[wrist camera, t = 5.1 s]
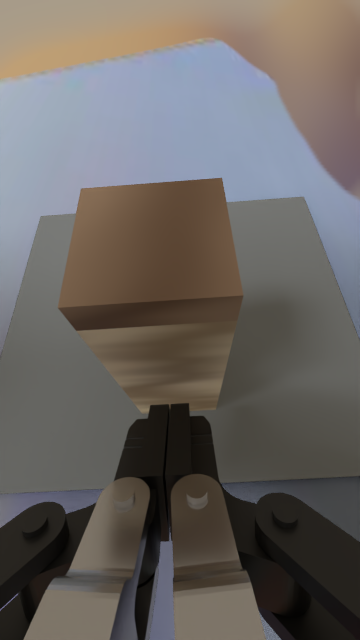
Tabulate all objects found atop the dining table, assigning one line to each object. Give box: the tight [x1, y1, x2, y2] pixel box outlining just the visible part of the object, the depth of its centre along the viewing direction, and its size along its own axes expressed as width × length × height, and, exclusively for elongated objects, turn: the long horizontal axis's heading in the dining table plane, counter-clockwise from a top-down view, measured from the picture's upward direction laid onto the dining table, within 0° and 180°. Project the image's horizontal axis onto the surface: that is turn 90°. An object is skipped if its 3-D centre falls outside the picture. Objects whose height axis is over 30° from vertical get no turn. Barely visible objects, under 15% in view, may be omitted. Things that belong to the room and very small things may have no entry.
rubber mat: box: [0, 197, 360, 494], centre depth 21 cm, size 24×22×1 cm
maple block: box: [58, 178, 244, 414], centre depth 13 cm, size 4×4×12 cm
